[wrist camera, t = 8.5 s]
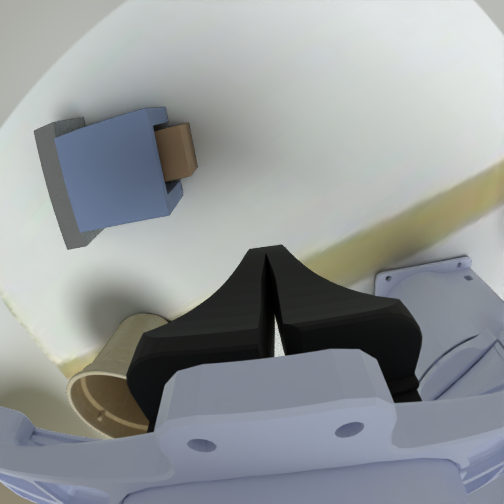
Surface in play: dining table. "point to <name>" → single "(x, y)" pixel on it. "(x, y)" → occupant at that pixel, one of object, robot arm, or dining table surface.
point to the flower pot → (112, 383)
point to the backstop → (61, 181)
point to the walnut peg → (176, 151)
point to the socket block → (116, 171)
